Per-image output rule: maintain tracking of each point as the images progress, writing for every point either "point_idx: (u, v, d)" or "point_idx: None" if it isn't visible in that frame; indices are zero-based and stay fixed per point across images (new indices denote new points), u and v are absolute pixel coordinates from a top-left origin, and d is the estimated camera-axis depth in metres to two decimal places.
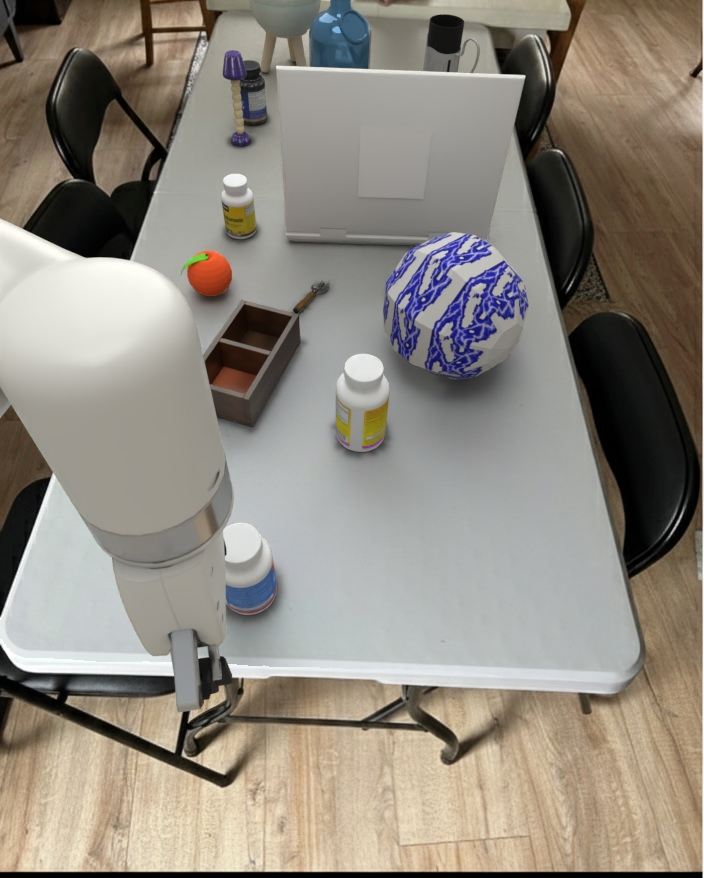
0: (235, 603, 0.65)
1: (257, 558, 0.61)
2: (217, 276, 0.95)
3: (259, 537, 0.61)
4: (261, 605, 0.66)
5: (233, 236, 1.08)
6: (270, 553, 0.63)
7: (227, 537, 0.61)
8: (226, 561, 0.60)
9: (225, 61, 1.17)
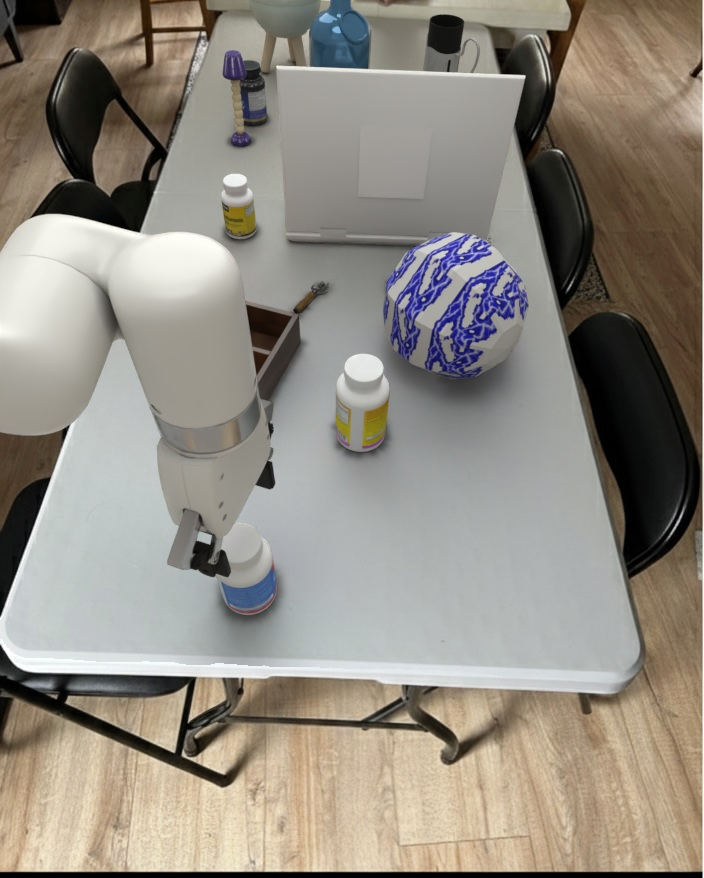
0: (235, 603, 0.65)
1: (257, 558, 0.61)
2: None
3: (259, 537, 0.61)
4: (261, 605, 0.66)
5: (233, 236, 1.08)
6: (270, 553, 0.63)
7: (227, 537, 0.61)
8: None
9: (225, 61, 1.17)
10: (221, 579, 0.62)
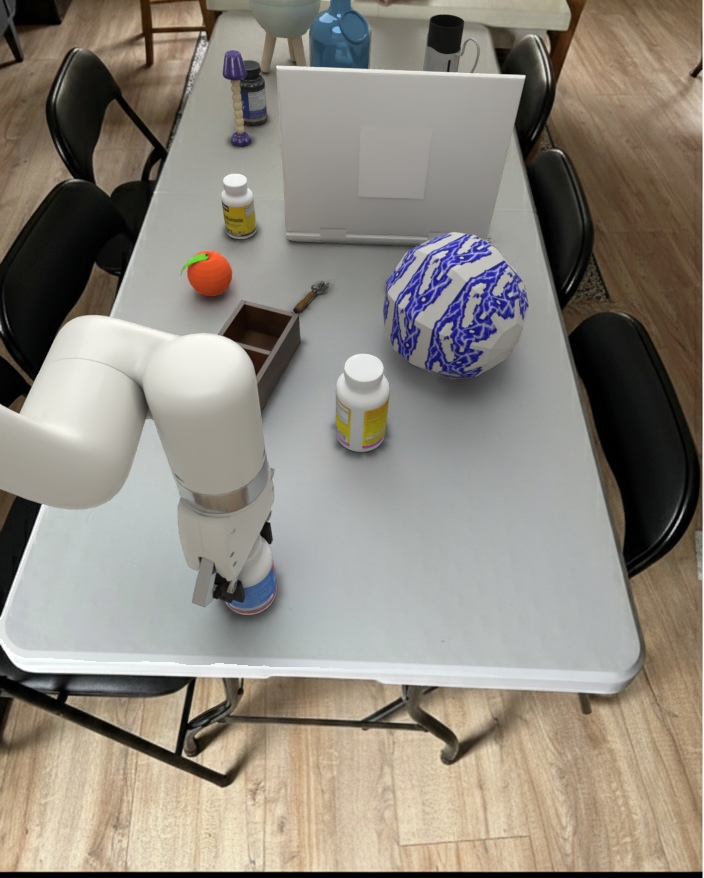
0: (235, 603, 0.65)
1: (257, 558, 0.61)
2: (217, 276, 0.95)
3: (259, 537, 0.61)
4: (261, 605, 0.66)
5: (233, 236, 1.08)
6: (270, 553, 0.63)
7: None
8: None
9: (225, 61, 1.17)
10: None
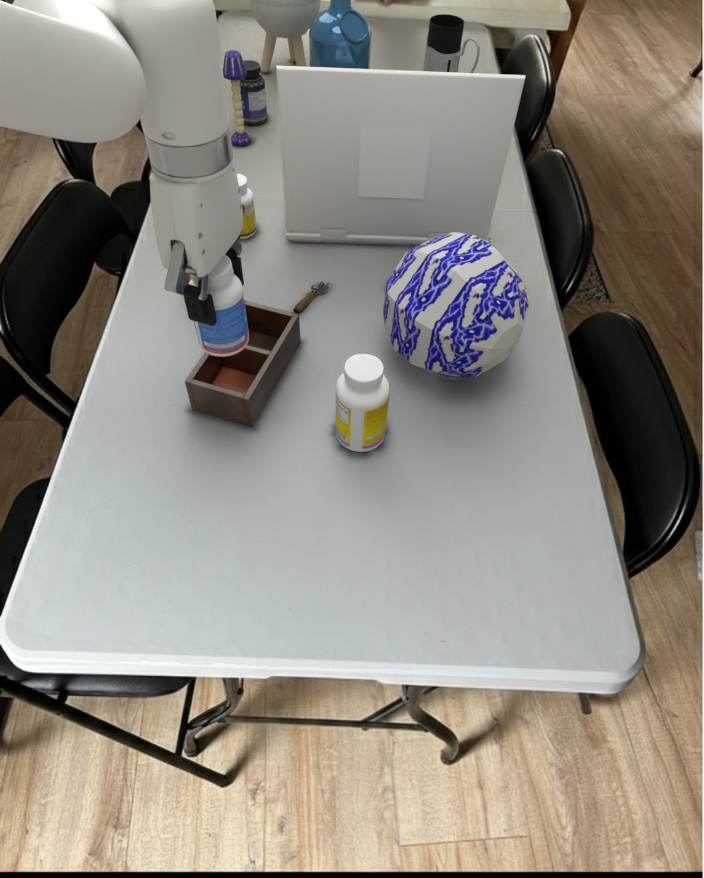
0: (209, 338, 0.71)
1: (227, 279, 0.66)
2: None
3: (229, 261, 0.67)
4: (233, 344, 0.72)
5: None
6: (240, 285, 0.69)
7: None
8: None
9: (225, 61, 1.17)
10: None
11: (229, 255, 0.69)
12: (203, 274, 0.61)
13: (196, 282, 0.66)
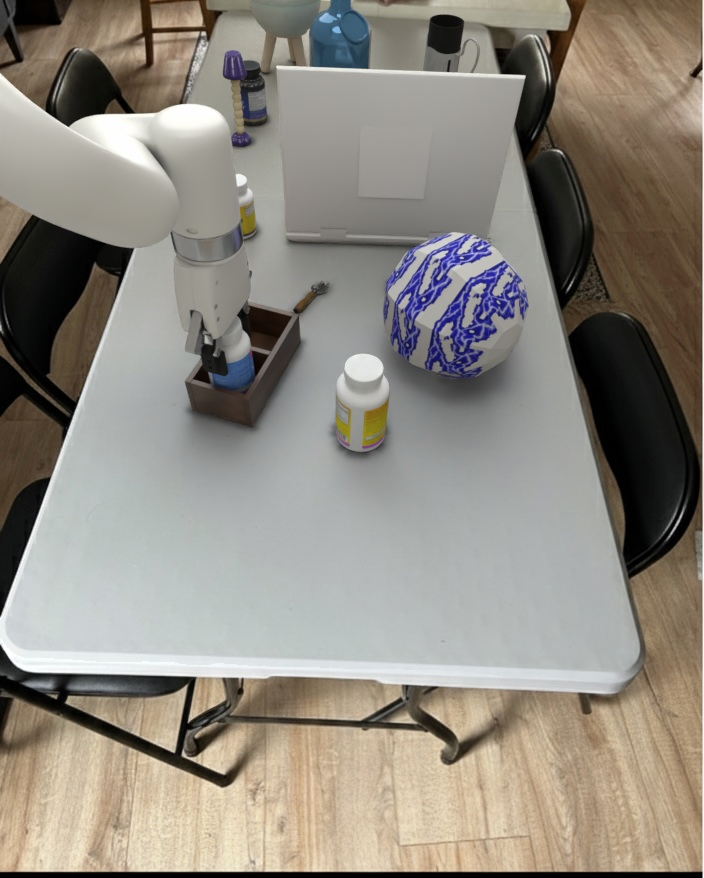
0: (221, 385, 0.81)
1: (237, 337, 0.77)
2: None
3: (239, 321, 0.77)
4: (242, 389, 0.82)
5: None
6: (248, 340, 0.79)
7: None
8: None
9: (225, 61, 1.17)
10: None
11: (238, 314, 0.79)
12: (217, 336, 0.71)
13: (210, 340, 0.76)
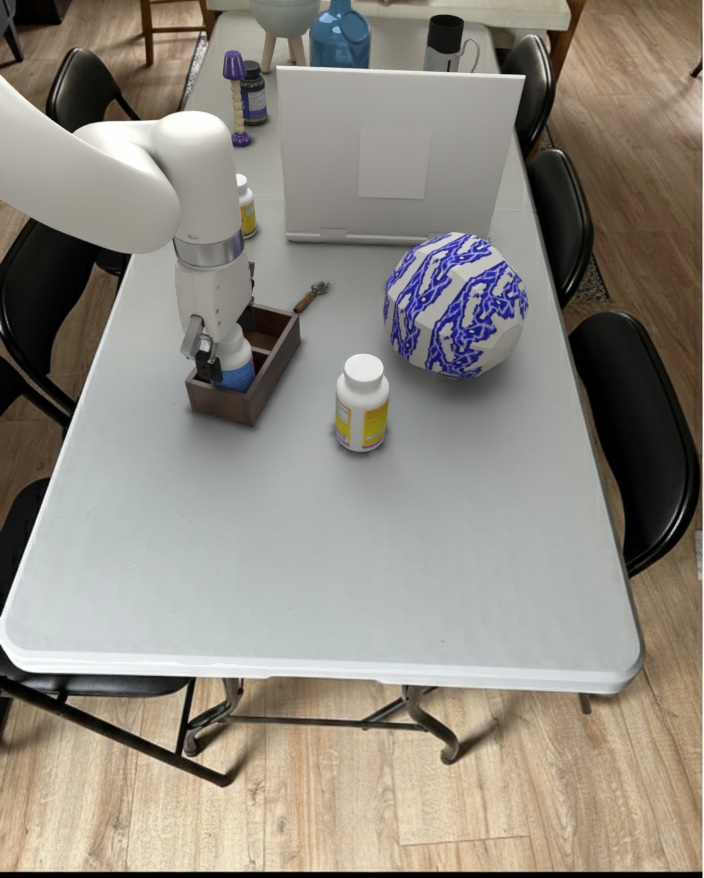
0: None
1: (239, 344, 0.78)
2: None
3: (240, 329, 0.78)
4: None
5: None
6: (249, 347, 0.80)
7: None
8: None
9: (225, 61, 1.17)
10: None
11: None
12: (219, 340, 0.72)
13: None
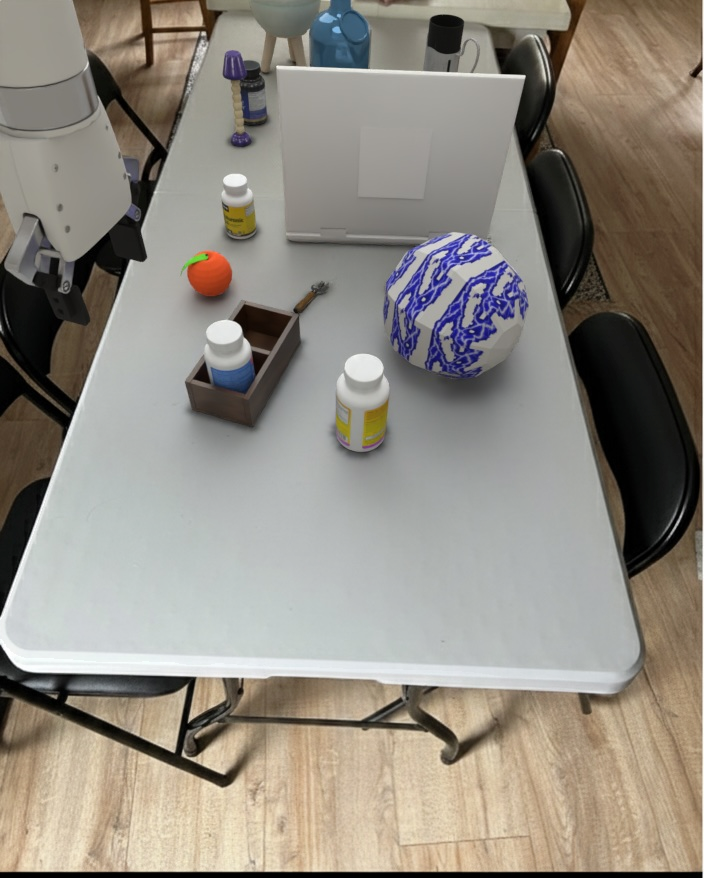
0: None
1: (239, 344, 0.78)
2: (217, 276, 0.95)
3: (240, 329, 0.78)
4: None
5: (233, 236, 1.08)
6: (249, 347, 0.80)
7: (215, 328, 0.78)
8: (214, 343, 0.76)
9: (225, 61, 1.17)
10: (210, 363, 0.79)
11: (124, 220, 0.57)
12: (72, 258, 0.49)
13: (212, 347, 0.77)
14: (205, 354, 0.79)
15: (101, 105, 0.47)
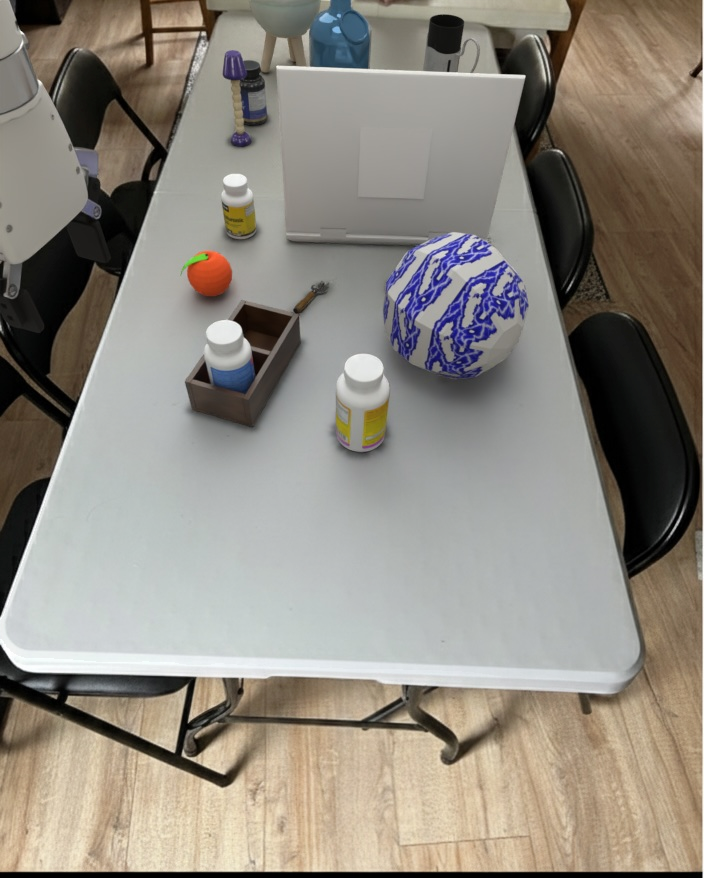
0: None
1: (239, 344, 0.78)
2: (217, 276, 0.95)
3: (240, 329, 0.78)
4: None
5: (233, 236, 1.08)
6: (249, 347, 0.80)
7: (215, 328, 0.78)
8: (214, 343, 0.76)
9: (225, 61, 1.17)
10: (210, 363, 0.79)
11: (83, 218, 0.53)
12: (17, 260, 0.45)
13: (212, 347, 0.77)
14: (205, 354, 0.79)
15: (44, 92, 0.43)
